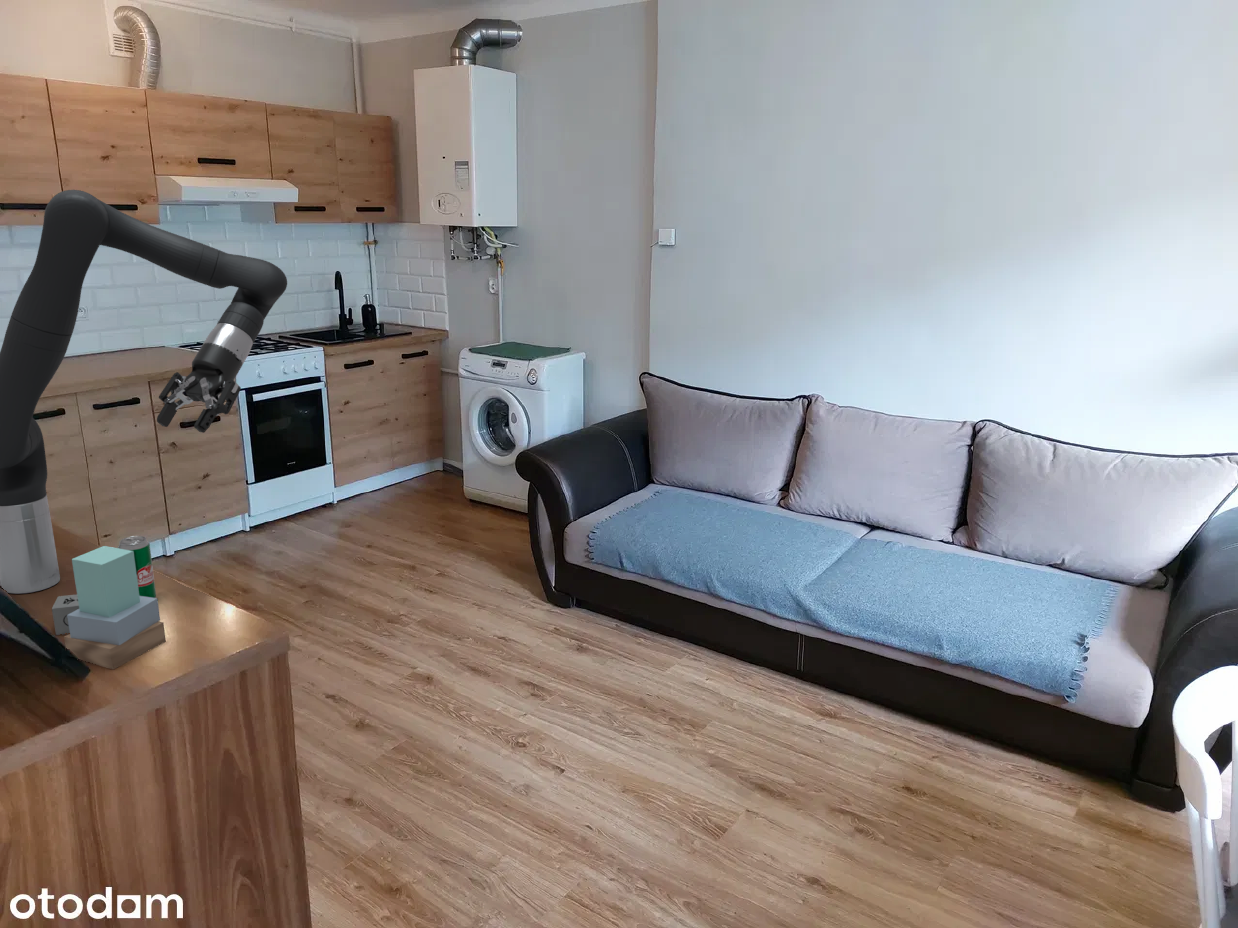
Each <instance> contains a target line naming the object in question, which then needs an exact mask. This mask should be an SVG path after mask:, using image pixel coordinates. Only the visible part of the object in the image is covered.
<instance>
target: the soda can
mask: <svg viewBox="0 0 1238 928" xmlns="http://www.w3.org/2000/svg"><path fill="white" fill-rule="evenodd" d="M147 539H148V538H147V537H146V536H145V535H144V536H143V535H132V536H128V537H127V536H126V537H124V538H122V539H120V540H119V541H118V542H119V543H118V544H119V545H118V546H117V548H119V549H124V550H130V551H134V559H135V567H136V574H137V582H138V589H139V596H144V597H151V598H157V591H156V583H155V576H154V568H153V561H152V553H151V551H152V550H151V546H150V542H149V541H148V540H147Z"/></svg>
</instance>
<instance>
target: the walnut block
mask: <svg viewBox="0 0 1238 928" xmlns="http://www.w3.org/2000/svg"><path fill="white" fill-rule="evenodd" d="M63 639H64V644H65V649H66V648H67V649H70V650H71V651H72V652H73V653H74V654H75V655H76V656H77V657H79V658H80V659H81V660H84V661H83V662H85V661H86V662H85V663H88V662H90V663H89V664H92V663H93V664H92V665H95V664H96V665H95V666H100V667H103V668H106V669H110V670H115V669H117V668H119V667H121V666H123V665H125V664H127V663H129V662H130V661H132V660H135V658H136V659H137V658H138V657H140V656H141V655H143V653H144V654H145V653H147V652H149V651H151V650H153V649H154V648H155V649H156V647H158V646H160V645H162V644H164V643H166V642H167V640H166V639H167V637H166V632H165V624H164V621H161V620H160V621H158V622H156V623H155V624H153V625H152V626H150V627H148V628H147V629H145V630H143V631H142V632H140V633H139V634H137V635H135V636H134V637H132V638H130V639H129V640H127V641H126V642H124V643H122V644H121V645H114V644H108V643H101V642H95V641H88V640H82V639H75V638H71V637H70V634H65V636H63ZM150 649H151V650H150ZM148 650H149V651H148ZM81 660H80V661H81Z"/></svg>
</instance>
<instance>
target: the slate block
mask: <svg viewBox="0 0 1238 928" xmlns="http://www.w3.org/2000/svg"><path fill="white" fill-rule="evenodd" d="M139 597H140V602H139V603H137V604H135V605H133V606H131V607H129V608H127V609H125V610H123V611H121V612H119V613H117V614H115V615H113V616H111V617H105V616H100V615H95V614H91V613H86V612H81V611H80V609H77V610H76V611H74V612H72V613H70V614H68V615H67V618H68V624H69V630H70V637H71V638H75V639H82V640H88V641H95V642H101V643H108V644H114V645H121V644H122V643H124V642H126V641H127V640H129V639H130V638H132V637H134V636H135V635H137V634H139V633H140V632H142V631H143V630H145V629H147V628H148V627H150V626H152V625H153V624H155V623H156V622H158V621H160V622H161V615H160V609H159V608H160V607H159V600H158V598H157V597H155V598H151V597H144V596H139Z"/></svg>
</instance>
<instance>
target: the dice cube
mask: <svg viewBox="0 0 1238 928" xmlns="http://www.w3.org/2000/svg"><path fill="white" fill-rule="evenodd" d="M77 609H79V603H78V597H77V593H76V594H69V595H58V596H57V598H56V600H55V602H54V603H53V605H52V608H51V612H52V619H53V623H54V624H53V625H54V630H55V635H56V636H60V634H62V635H69V634H68V633H70V630H69V624H68V618H67V615H68V614H70V613H72V612H74V611H76V610H77ZM65 633H67V634H65Z"/></svg>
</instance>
